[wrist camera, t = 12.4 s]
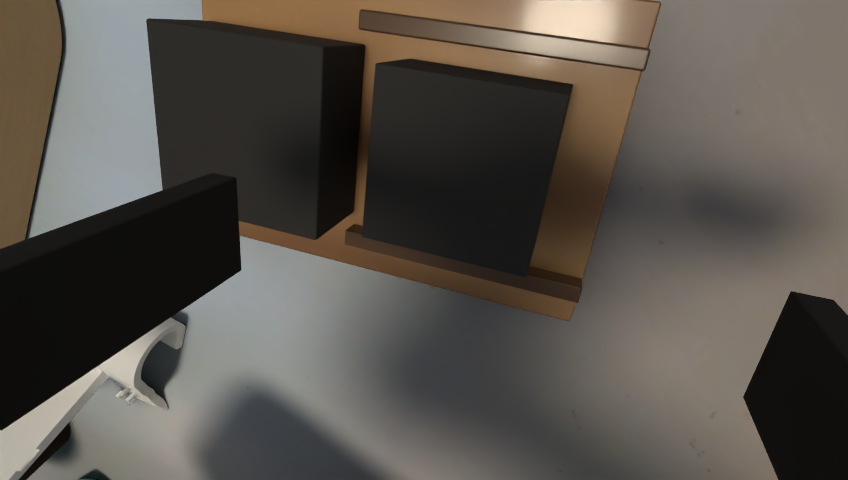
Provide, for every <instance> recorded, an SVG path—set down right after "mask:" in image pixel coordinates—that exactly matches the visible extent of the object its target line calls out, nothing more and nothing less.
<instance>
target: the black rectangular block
mask: <svg viewBox="0 0 848 480" xmlns="http://www.w3.org/2000/svg"><path fill="white" fill-rule="evenodd" d="M572 88H573V84H568V83H562V82H556V81H550V80H543V79H537V78H531V77H524V76H518V75H512V74H505V73H499V72H493V71H486V70H480V69H474V68H468V67H461V66H455V65H449V64H442V63H436V62H430V61H423V60H417V59H403V60H396V61H388V62H381V63H376V64H375V75H374V88H373V100H372V113H371V126H370V138H369V151H368V163H367V176H366V189H365V201H364V214H363V226H362V237H364V238H368V239H372V240H376V241H380V242H384V243H389V244H393V245H397V246H401V247H405V248H409V249H413V250H417V251H421V252H425V253H429V254H433V255H437V256H441V257H445V258H449V259H453V260H457V261H461V262H465V263H469V264H473V265H477V266H481V267H486V268H490V269H494V270H498V271H502V272H506V273H510V274H514V275H518V276H522V277H527V274H528V270H529V266H530V262H531V259H532V255H533V251H534V247H535V244H536V240H537V236H538V231H539V227H540V223H541V219H542V215H543V210H544V206H545V202H546V198H547V193H548V189H549V185H550V181H551V177H552V172H553V168H554V164H555V160H556V155H557V151H558V147H559V143H560V139H561V134H562V130H563V126H564V122H565V118H566V113H567V109H568V105H569V101H570V96H571V92H572Z"/></svg>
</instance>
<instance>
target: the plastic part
mask: <svg viewBox="0 0 848 480" xmlns="http://www.w3.org/2000/svg"><path fill="white" fill-rule="evenodd" d="M185 329H186V328H185V326H184V325H183V324H182V323H180V322H178V321H176V320H175V319H173V318H171V317H170V318H169V319H168V320H166V321H165V322H163V323H162V324H160V325H159V326H157V327H156V328H154V329H153V330H151V331H150V332H148V333H147V334H145V335H144V336H142V337H141V338H139V339H138V340H136V341H135V342H133V343H132V344H130V345H129V346H127V347H126V348H124V349H123V350H121V351H120V352H118V353H117V354H115V355H114V356H112V357H111V358H109V359H108V360H106V361H105V362H103V363H102V364H100V365H99V366H97V367H96V368H94V369H93V370H91V371H90V372H88V373H87V374H85V375H84V376H82V377H81V378H79V379H78V380H76V381H75V382H73V383H72V384H71V385H69V386H68V387H66V388H65V389H63V390H62V391H60V392H59V393H57V394H56V395H54V396H53V397H51V398H50V399H48V400H47V401H45V402H44V403H42V404H41V405H39V406H38V407H36V408H35V409H33V410H32V411H30V412H29V413H27V414H26V415H24V416H23V417H21V418H20V419H18V420H17V421H15V422H14V423H12V424H11V425H9V426H8V427H6V428H5V429H3V430H2V431H1V430H0V480H19V479H20V477H21V476H22V475H23V474H24V473H25V472H26V471H27V469H28V468H29V467H30V466H31V465H32V464H33V463H34V461H35V460H36V459H37V458H38V457H39V456H40V455H41V453H42V452H43V451H44V450H45V449H46V448H47V447H48V446H49V444H50V443H51V442H52V441H53V440H54V439H55V438H56V436H57V435H58V434H59V433H60V432H61V431H62V430H63V429H64V427H65V426H66V425H67V424H68V423H69V422H70V421H71V419H72V418H73V417H74V416H75V415H76V414H77V413H78V412H79V410H80V409H81V408H82V407H83V406H84V405H85V404H86V402H87V401H88V400H89V399H90V398H91V397H92V396H93V394H94V393H95V392H96V391H97V390H98V389H99V387H100V386H101V385H102V384H103V383H104V382H105V381H106V379H107V378H108V377H111V379H112V380H113V381H114V382H116V383H117V384H118V385H119V386H121V387H122V388H123V389H124V390H123V391H119V392H118V393H117V394H116V397H118V398H122V397H123V396H124V395H125V394H126V393H127V392H128V393H130V394H131V395H130V396H128V397H127V398H126V399H125V401H126V402H127V404H129V405H131V404H132V403H133V402H134V401H135V400H134V399H133V398H134V397H136V398H137V399H139V400H141V401H144V402H146V403H149V404H151V405H154V406H156V407H158V408H161V409H163V410H168V407H167V404H166V402H165V401H164V399H163V398H161V397H160V396H159V395H157V394H156V393H155V392H154V390H153V389H152V388H150V387H149V386H147V385H146V384H145V383H144V382H143V381H142V380H141V370H142V366H143V363H144V361H145V359H146V357H147V355H148V354H149V352H150V351H151V349H152V348H153V347H154V346H155V344H156V343H157V342H158V341H159V340H160V341H161V342H163V343H165V344H167V345H169V346H170V347H172V348H174V349H179V348H181V347H182V344H183V340H184V334H185Z"/></svg>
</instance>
